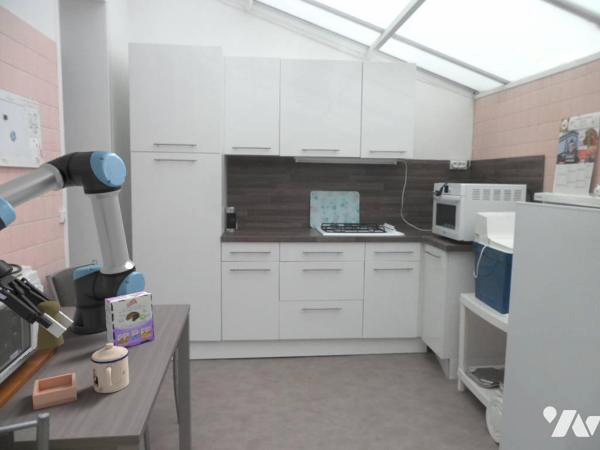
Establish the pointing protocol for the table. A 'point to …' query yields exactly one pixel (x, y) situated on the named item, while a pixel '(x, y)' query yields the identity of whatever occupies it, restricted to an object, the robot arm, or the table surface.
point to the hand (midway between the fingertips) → (65, 329)
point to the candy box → (129, 319)
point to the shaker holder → (54, 390)
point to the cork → (44, 336)
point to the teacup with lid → (110, 369)
